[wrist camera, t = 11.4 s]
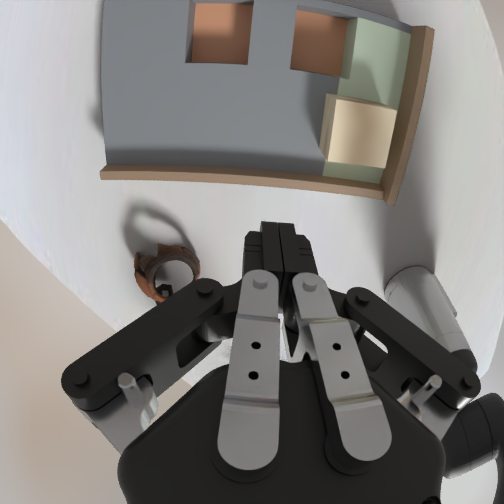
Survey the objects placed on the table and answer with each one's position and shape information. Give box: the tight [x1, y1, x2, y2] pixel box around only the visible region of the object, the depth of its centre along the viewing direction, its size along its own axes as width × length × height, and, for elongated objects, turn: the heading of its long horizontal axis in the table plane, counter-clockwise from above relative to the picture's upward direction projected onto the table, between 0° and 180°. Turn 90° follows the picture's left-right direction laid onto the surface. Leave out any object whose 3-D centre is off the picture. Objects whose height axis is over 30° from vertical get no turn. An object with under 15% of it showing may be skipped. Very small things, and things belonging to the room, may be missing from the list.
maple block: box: [319, 93, 397, 168], centre depth 27 cm, size 6×6×4 cm
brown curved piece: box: [134, 243, 200, 305], centre depth 43 cm, size 12×10×8 cm
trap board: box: [100, 0, 435, 205], centre depth 27 cm, size 32×20×7 cm, turn 85°
